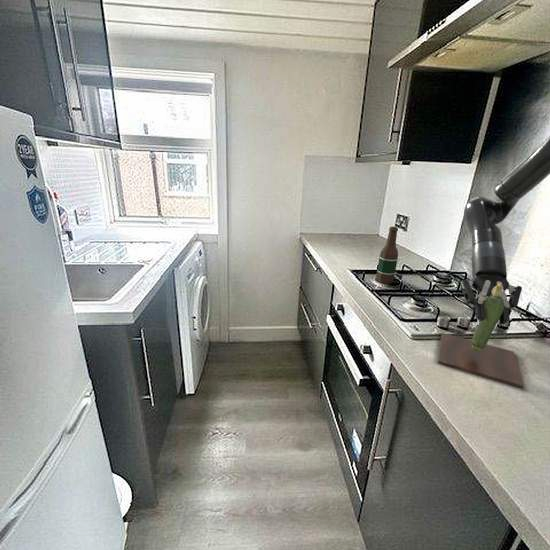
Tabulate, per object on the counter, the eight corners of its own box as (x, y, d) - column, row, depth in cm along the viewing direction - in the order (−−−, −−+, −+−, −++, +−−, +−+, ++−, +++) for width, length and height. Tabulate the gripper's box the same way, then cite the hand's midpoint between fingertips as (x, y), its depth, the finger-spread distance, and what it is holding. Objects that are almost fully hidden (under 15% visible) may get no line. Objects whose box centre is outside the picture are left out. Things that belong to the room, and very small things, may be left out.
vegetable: (472, 343, 84) (494, 277, 77) (490, 351, 81) (514, 283, 74) (466, 349, 81) (488, 281, 74) (484, 357, 78) (509, 287, 71)
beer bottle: (371, 280, 133) (380, 226, 124) (380, 276, 138) (389, 224, 129) (388, 285, 128) (398, 230, 119) (397, 281, 133) (407, 227, 124)
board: (513, 353, 84) (513, 351, 84) (522, 388, 71) (523, 385, 71) (441, 334, 92) (441, 332, 92) (438, 362, 80) (438, 360, 79)
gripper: (464, 252, 80) (467, 313, 74) (526, 257, 77) (534, 322, 71) (454, 264, 87) (455, 321, 81) (510, 270, 84) (516, 330, 77)
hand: (492, 321), depth 76 cm, fingers closed on vegetable, 4 cm apart
